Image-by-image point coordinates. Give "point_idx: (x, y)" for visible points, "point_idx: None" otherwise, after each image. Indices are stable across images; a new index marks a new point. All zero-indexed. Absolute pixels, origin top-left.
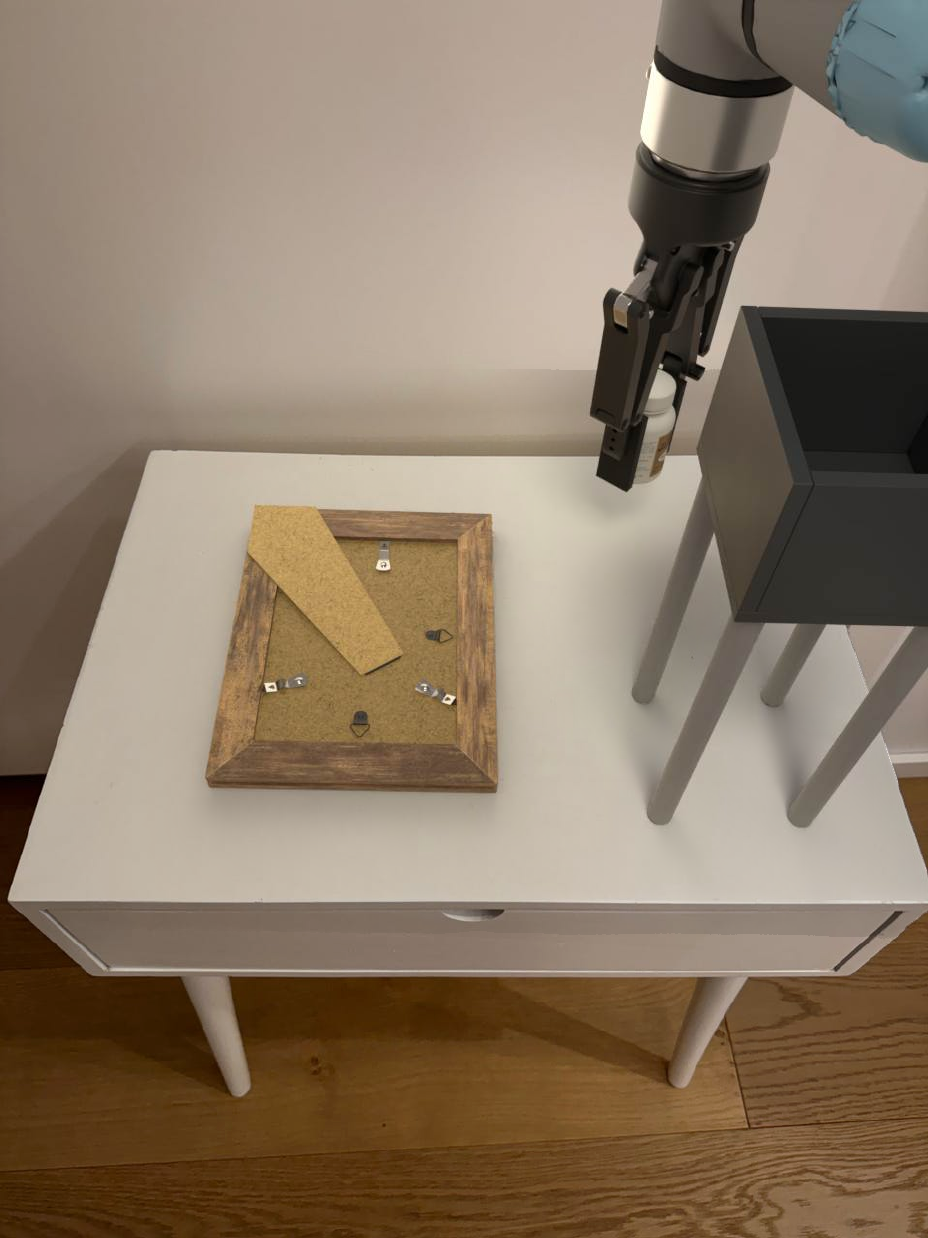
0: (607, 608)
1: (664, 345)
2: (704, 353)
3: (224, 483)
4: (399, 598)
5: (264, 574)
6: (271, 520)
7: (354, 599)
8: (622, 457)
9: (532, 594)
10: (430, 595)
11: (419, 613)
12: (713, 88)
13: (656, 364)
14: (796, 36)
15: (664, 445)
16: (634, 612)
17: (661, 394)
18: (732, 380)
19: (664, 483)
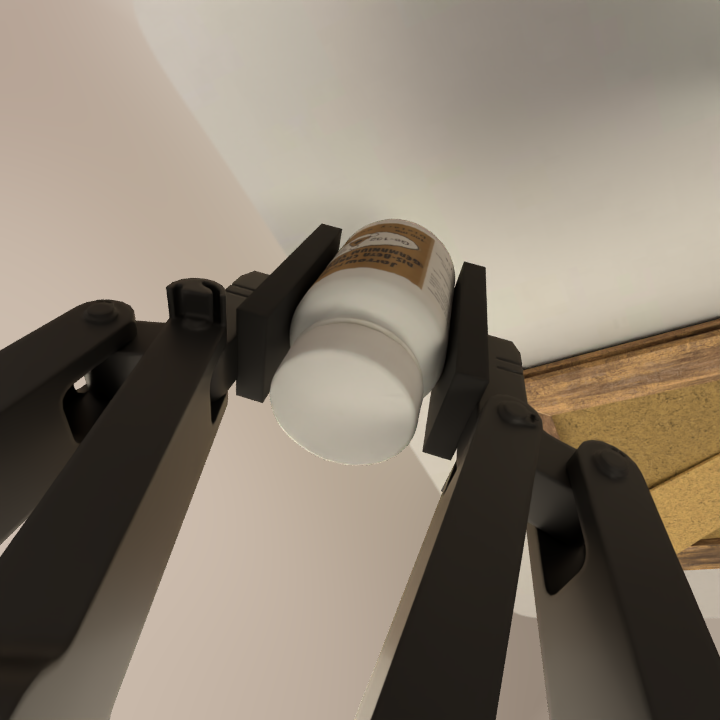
0: (599, 176)
1: (417, 667)
2: (117, 309)
3: (523, 582)
4: (675, 443)
5: None
6: None
7: (695, 485)
8: (501, 339)
9: (598, 294)
10: (661, 415)
11: (701, 419)
12: None
13: (469, 584)
14: None
15: (402, 258)
16: (597, 125)
17: (381, 383)
18: None
19: (283, 185)
